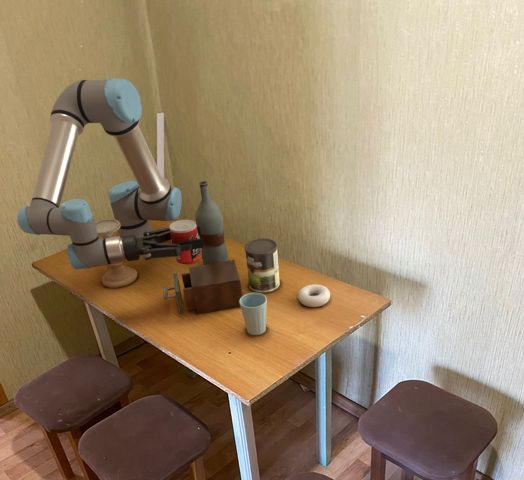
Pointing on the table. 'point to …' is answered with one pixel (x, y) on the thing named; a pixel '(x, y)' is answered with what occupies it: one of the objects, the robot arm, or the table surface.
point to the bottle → (211, 228)
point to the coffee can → (262, 265)
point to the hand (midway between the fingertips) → (201, 236)
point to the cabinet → (215, 286)
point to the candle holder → (117, 272)
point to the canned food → (185, 232)
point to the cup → (254, 312)
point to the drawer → (187, 292)
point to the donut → (314, 301)
